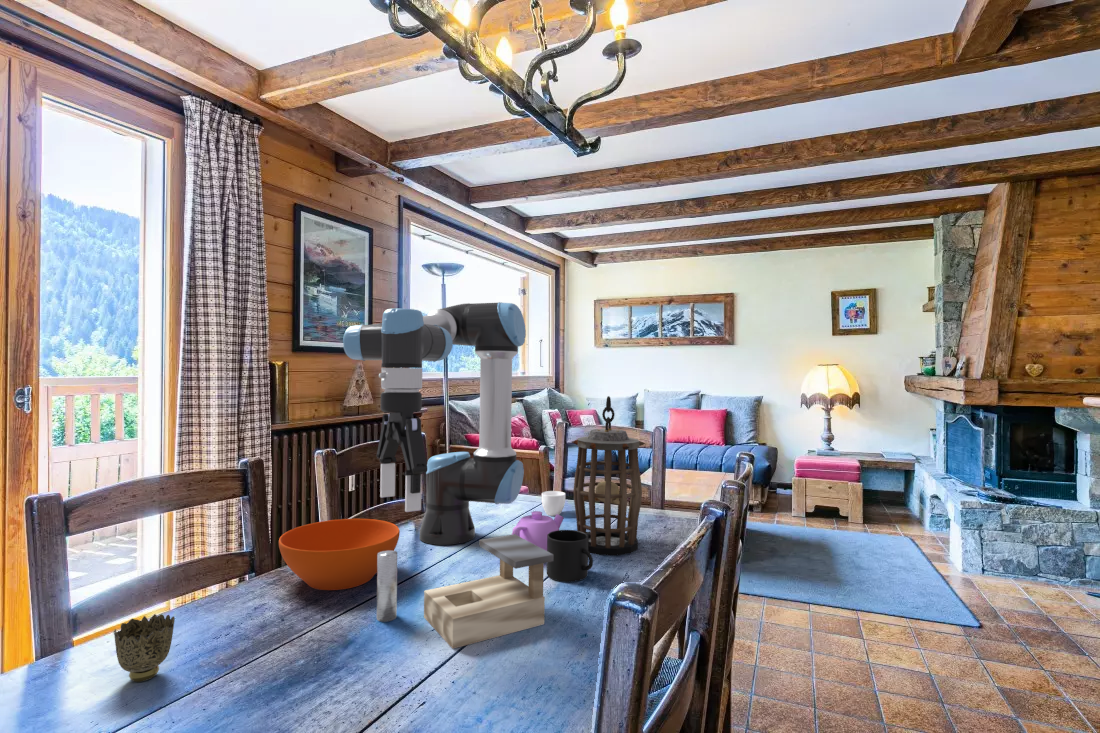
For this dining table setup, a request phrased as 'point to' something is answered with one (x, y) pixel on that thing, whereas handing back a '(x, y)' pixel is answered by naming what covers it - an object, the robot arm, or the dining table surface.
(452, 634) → the socket porch
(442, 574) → the dining table surface
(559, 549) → the mug
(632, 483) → the lantern
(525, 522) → the teapot
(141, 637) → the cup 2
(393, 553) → the peg
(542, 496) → the cup
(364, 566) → the bowl
